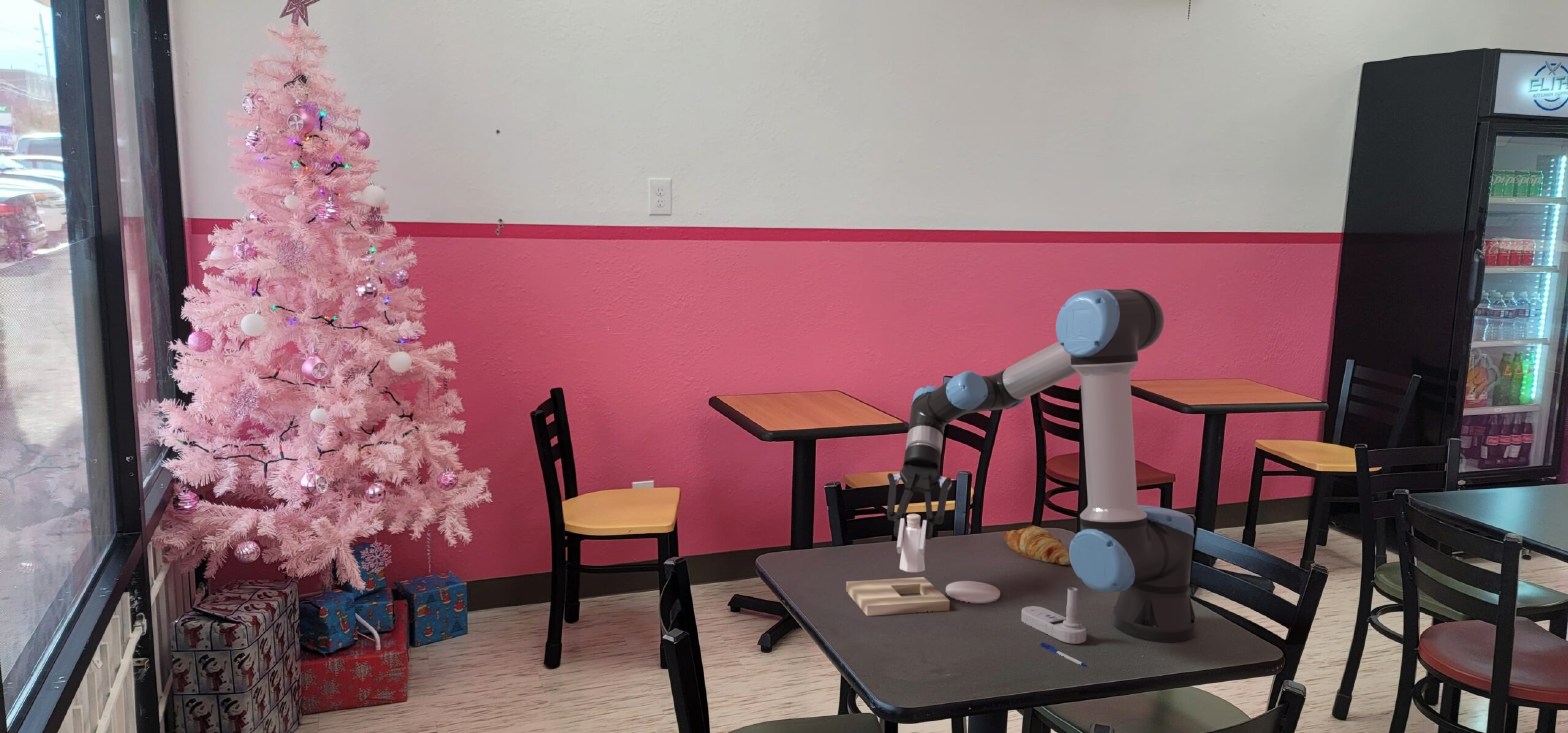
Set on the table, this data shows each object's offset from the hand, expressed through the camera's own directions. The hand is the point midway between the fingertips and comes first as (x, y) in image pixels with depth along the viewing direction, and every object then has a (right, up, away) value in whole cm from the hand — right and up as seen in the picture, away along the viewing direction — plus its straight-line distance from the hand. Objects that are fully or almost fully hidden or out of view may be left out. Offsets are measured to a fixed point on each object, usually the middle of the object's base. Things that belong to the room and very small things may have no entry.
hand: (910, 551), depth 202 cm
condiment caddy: (-2, -11, +4) cm, 12 cm away
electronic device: (+26, -14, -9) cm, 30 cm away
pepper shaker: (+1, -4, +4) cm, 6 cm away
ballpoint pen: (+24, -15, -21) cm, 35 cm away
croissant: (+34, -8, +37) cm, 50 cm away
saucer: (+14, -10, +9) cm, 20 cm away
